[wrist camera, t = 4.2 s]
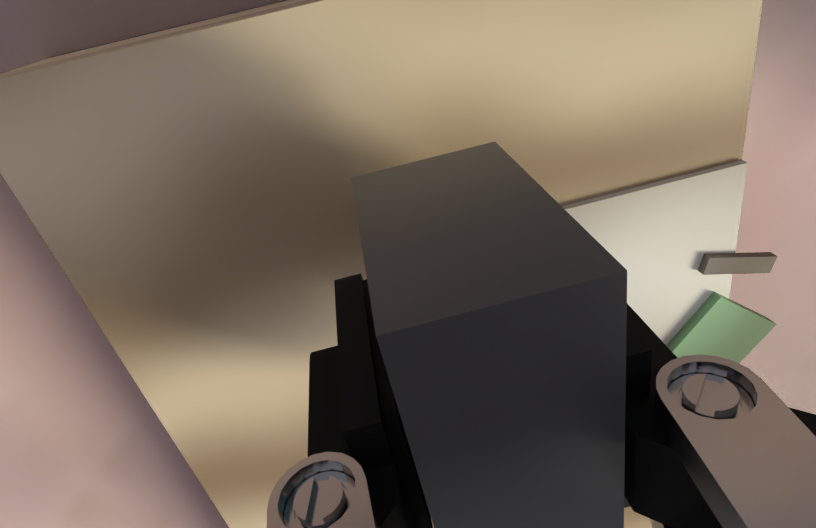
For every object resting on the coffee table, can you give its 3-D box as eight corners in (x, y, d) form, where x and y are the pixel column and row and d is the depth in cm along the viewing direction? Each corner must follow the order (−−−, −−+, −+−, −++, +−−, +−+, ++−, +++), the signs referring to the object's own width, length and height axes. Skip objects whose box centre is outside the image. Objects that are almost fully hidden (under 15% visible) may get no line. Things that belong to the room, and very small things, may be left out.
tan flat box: (45, 59, 13) (-70, 97, 9) (709, -102, 13) (867, -131, 10) (308, 551, 24) (307, 663, 20) (667, 454, 25) (732, 545, 21)
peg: (343, 132, 11) (376, 335, 5) (457, 103, 11) (626, 270, 5) (449, 518, 18) (516, 800, 12) (518, 499, 18) (620, 770, 12)
